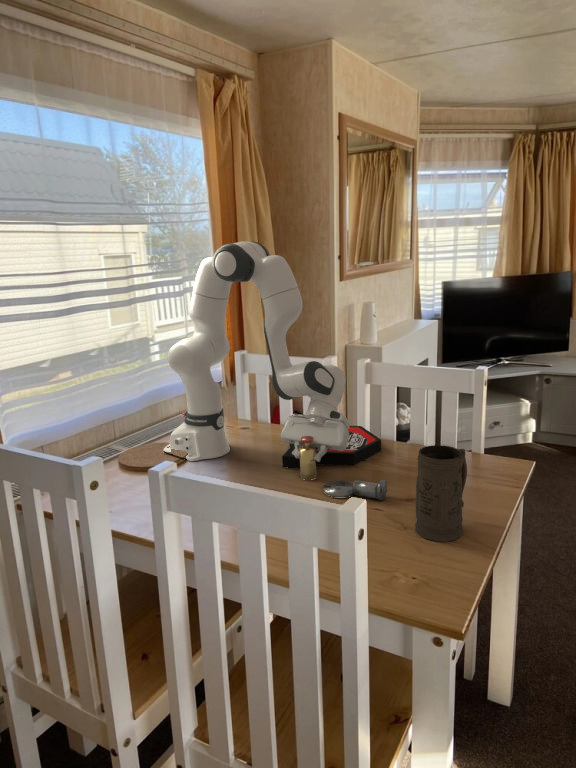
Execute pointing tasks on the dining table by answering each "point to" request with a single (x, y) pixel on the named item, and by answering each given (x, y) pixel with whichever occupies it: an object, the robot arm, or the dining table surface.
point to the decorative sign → (356, 451)
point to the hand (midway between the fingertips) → (306, 459)
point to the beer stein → (440, 492)
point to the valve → (307, 459)
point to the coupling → (356, 489)
